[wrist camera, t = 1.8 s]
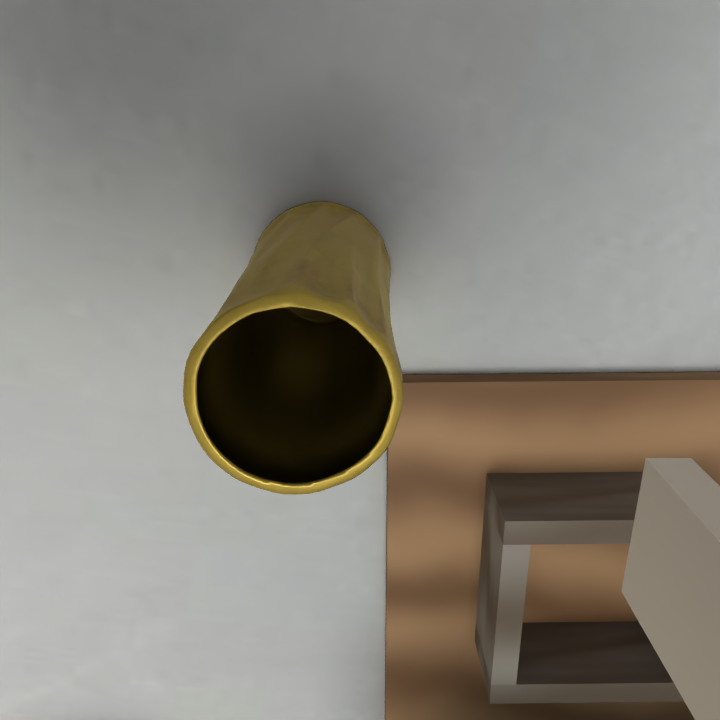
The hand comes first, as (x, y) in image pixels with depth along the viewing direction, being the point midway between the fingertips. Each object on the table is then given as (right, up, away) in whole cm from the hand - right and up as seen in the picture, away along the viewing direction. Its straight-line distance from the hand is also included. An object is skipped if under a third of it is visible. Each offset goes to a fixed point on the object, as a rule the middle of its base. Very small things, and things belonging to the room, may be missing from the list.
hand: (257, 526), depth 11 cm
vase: (0, +7, +18) cm, 19 cm away
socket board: (+14, -10, +24) cm, 29 cm away
